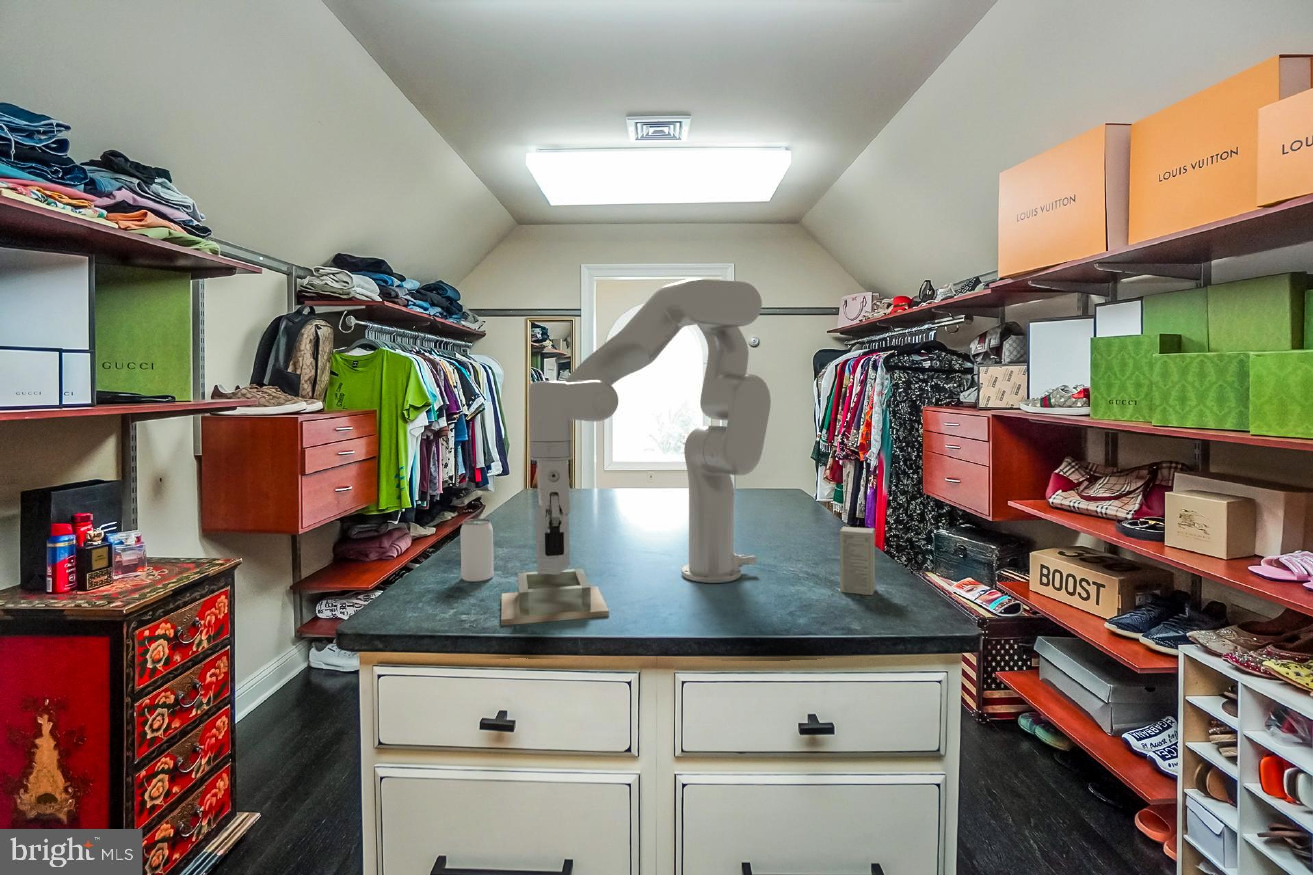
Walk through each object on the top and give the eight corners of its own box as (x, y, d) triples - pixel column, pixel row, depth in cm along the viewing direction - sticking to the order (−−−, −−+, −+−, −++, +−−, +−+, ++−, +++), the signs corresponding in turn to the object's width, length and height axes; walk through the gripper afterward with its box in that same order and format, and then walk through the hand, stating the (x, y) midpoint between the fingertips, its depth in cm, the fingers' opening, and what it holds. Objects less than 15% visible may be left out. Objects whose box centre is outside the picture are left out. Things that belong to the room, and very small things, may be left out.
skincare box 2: (875, 589, 121) (876, 528, 120) (872, 596, 117) (873, 532, 116) (841, 585, 123) (842, 525, 123) (838, 592, 119) (839, 529, 119)
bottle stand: (597, 591, 120) (597, 566, 120) (608, 615, 107) (608, 587, 106) (501, 598, 116) (501, 572, 116) (501, 625, 102) (500, 595, 102)
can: (484, 583, 126) (483, 525, 125) (455, 581, 127) (454, 523, 126) (499, 574, 132) (497, 518, 131) (471, 572, 133) (469, 517, 132)
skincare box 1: (548, 564, 114) (547, 500, 114) (570, 565, 113) (569, 501, 113) (535, 574, 108) (534, 506, 108) (558, 575, 108) (557, 507, 107)
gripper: (578, 454, 102) (579, 560, 103) (567, 446, 119) (569, 537, 120) (531, 456, 100) (533, 563, 101) (528, 447, 117) (529, 540, 118)
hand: (553, 548), depth 111 cm, fingers closed on skincare box 1, 7 cm apart
